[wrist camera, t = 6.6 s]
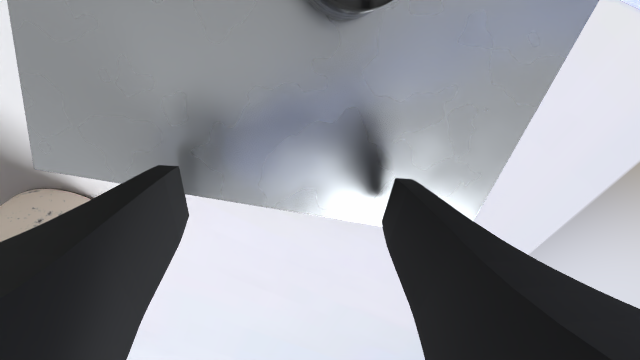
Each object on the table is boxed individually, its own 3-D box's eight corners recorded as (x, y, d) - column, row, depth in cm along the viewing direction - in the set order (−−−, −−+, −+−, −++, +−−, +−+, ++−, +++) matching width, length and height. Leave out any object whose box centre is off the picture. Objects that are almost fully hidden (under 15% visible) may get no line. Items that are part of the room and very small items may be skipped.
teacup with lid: (17, 252, 23) (-179, 429, 14) (-8, 169, 19) (-324, 344, 9) (164, 276, 27) (89, 433, 17) (173, 209, 22) (79, 371, 12)
